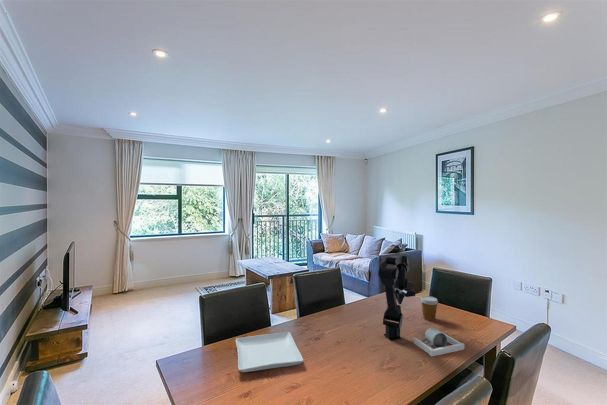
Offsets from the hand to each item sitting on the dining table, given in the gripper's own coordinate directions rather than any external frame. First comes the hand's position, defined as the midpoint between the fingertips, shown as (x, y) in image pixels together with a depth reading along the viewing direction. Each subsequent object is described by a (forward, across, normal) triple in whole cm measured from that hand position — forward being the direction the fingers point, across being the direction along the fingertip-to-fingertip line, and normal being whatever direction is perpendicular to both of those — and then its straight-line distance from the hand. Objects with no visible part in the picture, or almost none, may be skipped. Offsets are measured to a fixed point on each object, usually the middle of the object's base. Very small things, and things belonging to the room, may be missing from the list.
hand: (399, 304), depth 163 cm
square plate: (+13, -6, +76) cm, 77 cm away
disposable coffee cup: (+12, +2, -22) cm, 25 cm away
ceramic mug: (+12, -24, -1) cm, 27 cm away
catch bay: (+12, -24, -3) cm, 27 cm away
